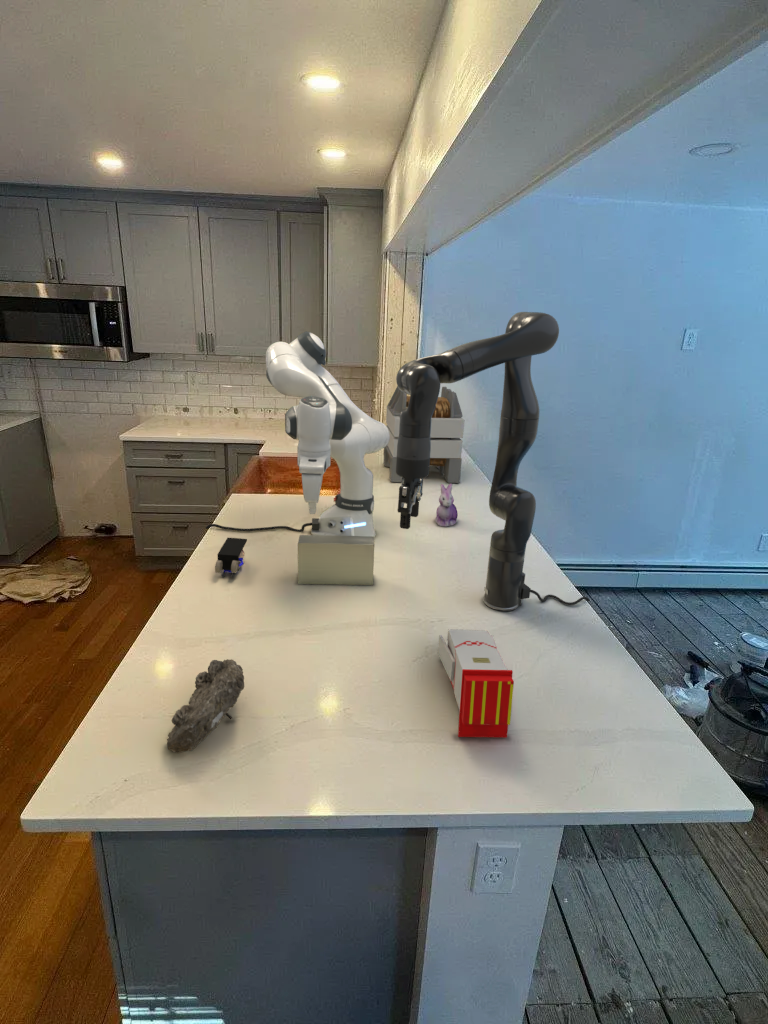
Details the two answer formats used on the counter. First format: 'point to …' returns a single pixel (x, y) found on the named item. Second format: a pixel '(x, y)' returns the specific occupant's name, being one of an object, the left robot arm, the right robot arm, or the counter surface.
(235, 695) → the fossil
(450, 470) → the transformer
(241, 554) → the toy car
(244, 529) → the left robot arm
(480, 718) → the toy
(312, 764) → the counter surface
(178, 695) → the counter surface
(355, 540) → the box
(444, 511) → the figurine
